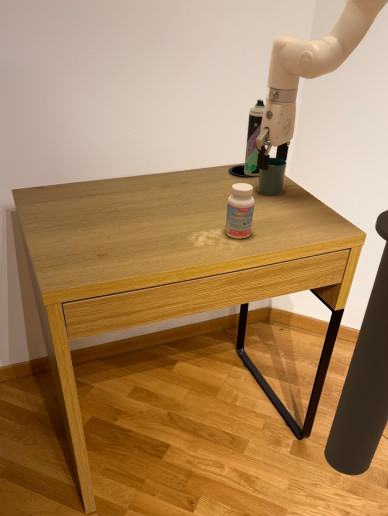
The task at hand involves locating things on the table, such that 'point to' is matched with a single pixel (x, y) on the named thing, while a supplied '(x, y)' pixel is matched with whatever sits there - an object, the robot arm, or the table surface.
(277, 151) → the robot arm
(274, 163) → the cup
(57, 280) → the table surface
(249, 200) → the pill bottle
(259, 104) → the spray can
